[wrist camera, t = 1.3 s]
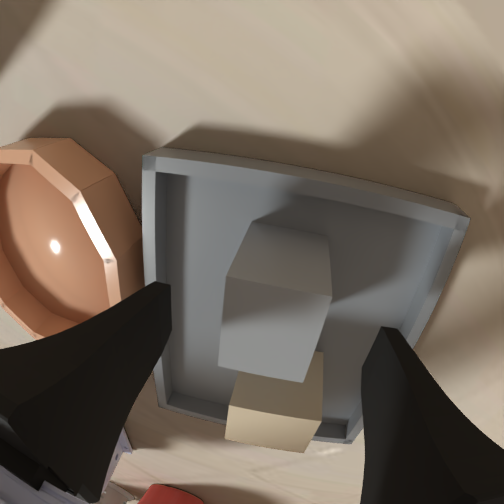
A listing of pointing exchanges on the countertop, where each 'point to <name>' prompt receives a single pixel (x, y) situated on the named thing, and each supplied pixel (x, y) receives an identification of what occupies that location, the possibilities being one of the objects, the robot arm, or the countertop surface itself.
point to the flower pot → (168, 496)
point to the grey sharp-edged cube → (275, 302)
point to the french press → (114, 495)
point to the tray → (299, 218)
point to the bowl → (63, 236)
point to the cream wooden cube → (276, 409)
